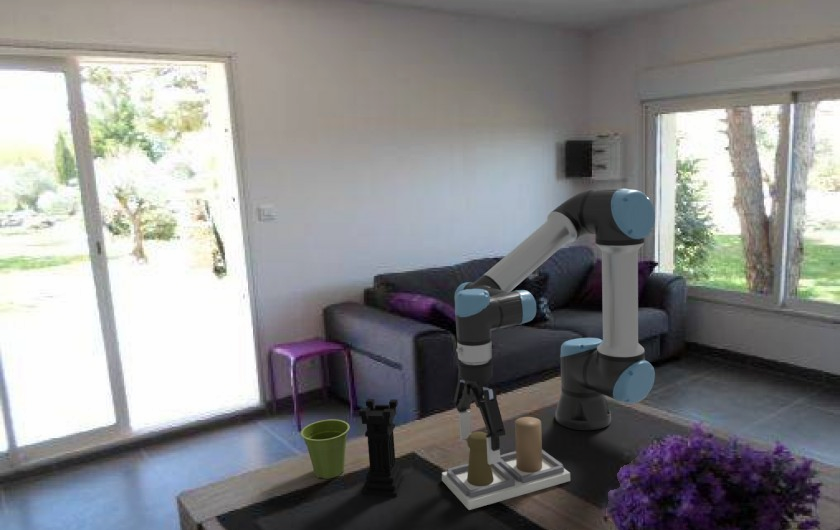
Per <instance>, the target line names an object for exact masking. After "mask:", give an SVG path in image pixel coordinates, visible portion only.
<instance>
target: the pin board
mask: <svg viewBox="0 0 840 530" xmlns="http://www.w3.org/2000/svg"><path fill="white" fill-rule="evenodd" d="M514 432H515V434H514V435H515V450H514V451H511V452H506V453H504V454H500V462H498V463H494V464H491V467H492V473H493V478H494V480H493V482H492V483H491V484H489V485H487V486H474V485H471V484H470V483H469V482H468V481H467V475H468V465H469V462H468V463H464V464H461V465H457V466H456V465H455V466H453V467H449V468H447V469H446V471H442V472H441V482H443V483H444V484H445V485H446V487H447V488H448V489H449V490H450V491H451V492H452V494H453V495H455V497H456V498H457V499H458V500H459V501H460V502H461V503H462V504H463V505H464V507H465V508H466V509H467V510H468V511H471V510H474V509H478V508H481V507H484V506H487V505H492V504H496V503H498V502H502V501H505V500H506V501H507V500H509V499H512V498H516V497H520V496H523V495H526V494H530V493H534V492H536V491H540V490H544V489H547V488H551V487H554V486H557V485H560V484H564V483H567V482H571V472H570V471H568V470H567V469H566V468H565V466H564V464H563V463H562V462H561V461H559V460H558V459H556V458H554V457H553V456H552V455H550V454H549V453H548V452H547V451H545V450H544V449H543V446H542V445H543V443H542V442H543V441H542V439H543V438H542V421H541V420H540V419H539V418H537V417H534V416H533V417H532V416H523V417H519V418H517V419H515V421H514Z"/></svg>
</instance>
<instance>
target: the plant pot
mask: <svg viewBox="0 0 840 530" xmlns="http://www.w3.org/2000/svg"><path fill="white" fill-rule="evenodd" d="M350 428H351V427H350V424H349V423H348V422H347V421H344V420H341V419H324V420H319V421H315V422H312V423H309V424H308V425H306V426H305V427H303V428H302V429H301V431H300V436H301V437H302V438H303V440H304V443H305V445H306V447H307V451H308V454H309V458H310V460H311V465H312V468H313V472H314V475H315V477H317V478H322V479H326V480H327V479H332V478H336V477H339V476H340V475H341V474H342V473H344V471H345V464H346V463H345V460H346V448H347V447H346V446H347V439H348V438H347V437H348V432H349V430H350Z"/></svg>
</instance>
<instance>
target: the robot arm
mask: <svg viewBox="0 0 840 530" xmlns="http://www.w3.org/2000/svg"><path fill="white" fill-rule="evenodd" d="M655 222H656V212H655V207H654V204H653V202H652V200H651V199H650V198H649V197H648V196H647V195H646V193H644V192H642V191H640V190H638V189H637V190H636V189H629V188H590V189H589V188H588V189H587V190H584V191H581V192H579V193H577V194H574V195H572V196H571V197H569V198H568V199H566V200H565V201H563V202H562V203H561V204H560V205H557V207H556V208H555V209H554V210H552V211H551V212H550V213H548V215H547V218H546V221H545V222H543V224H541V225H540V226H539V227H538V228H537V229H536V230H535V231H533V232H532V233H531V234H529V236H528V237H526V238H525V239H524V240H522V242H520V243H519V244H517V246H516V247H514V249H512V250H511V251H509V253H507V254H506V255H505V256H504V257H503V258H502V259H500V260H499V261H498V262H496V264H494V265H493V266H492V267H491V268H490V269H488V271H487V272H485V273H484V274H483V275H481V276H480V277H479V278H478V279H476V281H474V282H472V281H469V282H468V281H467V282H464V283H461V284H460V285H459V286H458V287H457V288H456V290H455V292H454V315H455V326H456V327H455V328H456V341H457V342H456V344H457V348H456V351H455V352H456V353H457V359H458V360H459V361H458V362H457V363H458V364H457V366H458V373H457V383H456V388H455V394H454V397H453V406H454V407H456V410H457V411H458V424H459V425H458V426H459V428H458V429H459V439H460V440H461V441H462V440H466V439H468V436H469V435H470V434H471V433H473V432H472V415H471V411H470V410H471V409H472V408H471V405H472V402H474V403H475V406H476V407H477V408H478V409H479V412H480V414H481V416H482V420H483V422H484V426H485V428H486V432H487V433H486V434H487V435H486V438H487V460H488V464H489V465H490V464H494V463H498V462H500V455H501V446H500V444H501V443H500V441H501V440H500V437H502V436H505V435H506V429H505V427H504V425H505V424H504V423H503V422H504V421H503V419H502V415H501V410H500V408H499V403H498V399H497V390H496V388H495V387H493V388H489V384H488V381H489V380H490V379H491V378H492V377H493V374H494V372H493V371H494V370H493V368H494V367H493V360H492V358H493V347H492V345H493V344H492V343H493V342H492V331H495V330H499V329H504V328H508V327H513V326H517V325H518V326H521V325H522V324H525V323H528V322H529V323H530V322H531V321H533V319H534V318H536V314H537V302H536V299H535V297H534V296H533V294H532V293H531V292H530V291H528V290H527V289H526V290H525V289H521V290H517V289H516V290H514V289H515V288H516V287H517V286H518V285H520V284H521V283H522V282H523V281H524V280H526V279H527V278H528V277H529V276H530V275H531V274H532V273H533V272H534V271H536V270H537V269H538V268H539V267H540V266H541V265H543V264H544V263H545V262H546V261H547V260H549V258H550V257H552V256H553V255H554V254H556V252H558V250H560V249H561V248H562V247H563V246H564V245H565V244H567V243H568V244H571V243H573V242H575V241H576V240H577V239H578V238H580V237H582V236H584V235H590V234H591V235H594V237H595V238H594V239H595V240H594V242H595V246H597V248H599V250H601V283H602V284H601V288H602V289H601V290H602V295H601V297H602V300H601V301H602V303H601V304H602V339H600V338H597V337H581V338H574V339H569V340H566V341H564V342H562V344H561V346H560V355H559V359H560V361H559V362H560V385H561V386H560V388H561V390H560V395H559V399H558V402H557V406H556V408H555V420H556V422H557V423H558V424H559V425H560V426H562V427H566V428H568V429H572V430H579V431H596V430H601V429H604V428H606V427H608V426H610V424H611V422H612V413H611V410H610V406H609V404H608V401H607V399H606V397H608V398H611V399H614V400H615V401H616V402H622V403H625V404H629V405H633V404H638V403H639V402H642V401H643V400H644V399H646V397H647V396H648V394H649V393H650V392H651V390H652V388H653V386H654V382H655V379H656V376H655V375H656V374H655V373H656V372H655V368H654V366H653V365H652V364H651V363H650V362H649V361H648V360H646V359H645V347H643V346H642V345H641V344H640V343H639V299H638V298H639V249H640V248H641V247H643V246H644V244H645V238H646V237H648V236H649V235H650V233H652V232H653V231H652V230H653V229H652V228H654V226H655V224H656V223H655Z"/></svg>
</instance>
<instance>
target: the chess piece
mask: <svg viewBox="0 0 840 530" xmlns="http://www.w3.org/2000/svg"><path fill="white" fill-rule="evenodd" d="M388 403H389V404H376V403H375V398H367V399H366V401H365V407H366V408H365V407H364V408H363V407H362V408H360V409H358V417H360V418H361V425H366V430H365V433H364V436H365V438H367V448H368V460H369V463H368V464H369V471H368V473H366V474H367V475H365V476H366V477H365V482H364V487H363V490H362V496H363V495H365V496H381V497H382V496H383V497H398V495H399V493H400V490H401V488H402V487H403V484H404V482H405V479H406V477H405V475H403V469H400V468H401V464H398V463H396V451H395V440H394V439H395V438H394V437H395V436H394V429H395V428H396V424H395V423H393V422H394V421H393V420H394V418H395V416H396V415H397V406H398V405H399V401H398V399H390V400H389V402H388ZM403 481H404V482H403Z"/></svg>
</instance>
